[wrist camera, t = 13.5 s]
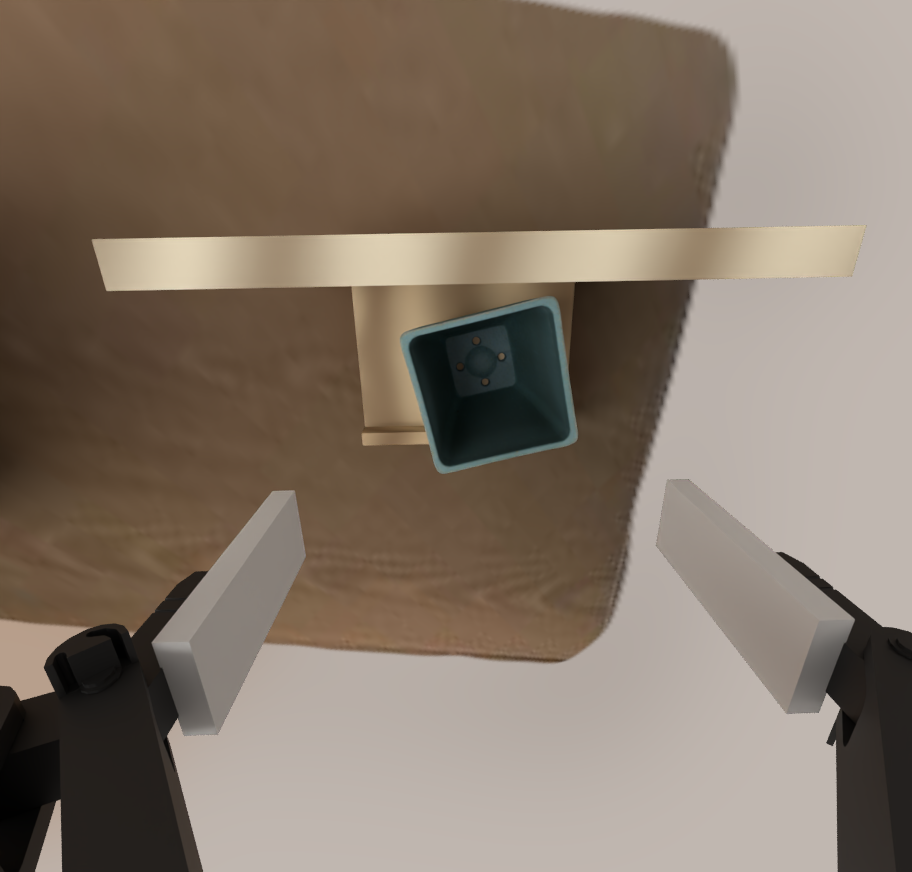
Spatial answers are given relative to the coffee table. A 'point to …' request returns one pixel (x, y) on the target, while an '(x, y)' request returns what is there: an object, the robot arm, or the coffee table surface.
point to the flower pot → (492, 384)
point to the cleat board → (463, 279)
